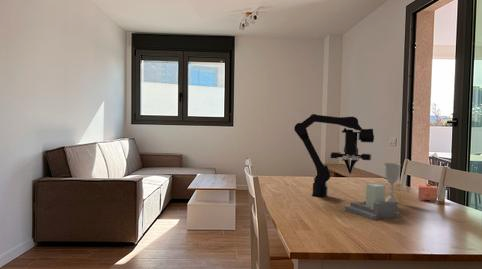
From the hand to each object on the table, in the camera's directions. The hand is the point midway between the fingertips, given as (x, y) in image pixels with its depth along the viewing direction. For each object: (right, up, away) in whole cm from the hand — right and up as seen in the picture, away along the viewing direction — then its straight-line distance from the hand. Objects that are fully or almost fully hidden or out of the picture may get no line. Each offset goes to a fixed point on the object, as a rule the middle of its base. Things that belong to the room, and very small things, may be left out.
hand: (350, 173), depth 167 cm
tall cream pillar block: (0, -11, -32) cm, 34 cm away
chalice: (+17, -13, -8) cm, 23 cm away
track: (-1, -13, -30) cm, 33 cm away
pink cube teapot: (+36, -13, -4) cm, 39 cm away
